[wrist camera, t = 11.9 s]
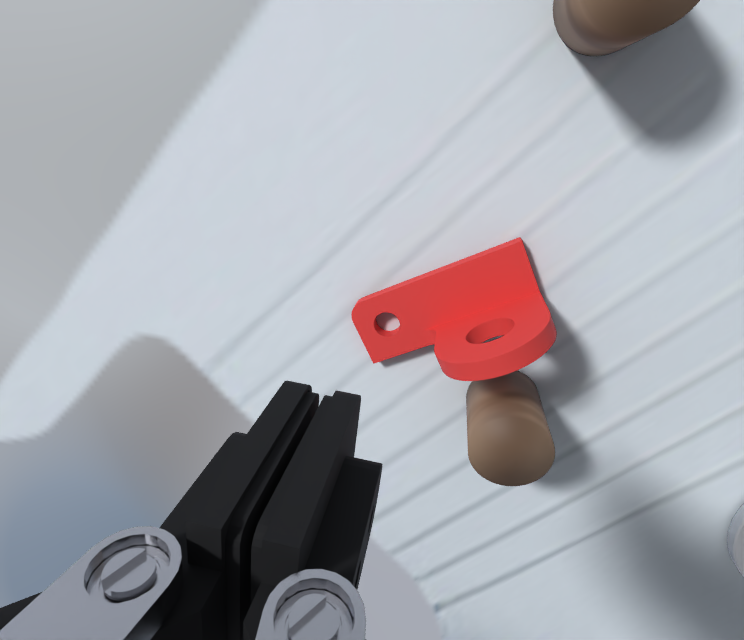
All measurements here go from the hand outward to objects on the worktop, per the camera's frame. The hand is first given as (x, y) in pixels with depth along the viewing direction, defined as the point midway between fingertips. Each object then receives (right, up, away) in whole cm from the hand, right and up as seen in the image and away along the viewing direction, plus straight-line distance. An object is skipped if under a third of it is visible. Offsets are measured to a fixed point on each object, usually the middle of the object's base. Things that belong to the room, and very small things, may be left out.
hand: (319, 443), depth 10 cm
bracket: (+6, +4, +21) cm, 22 cm away
